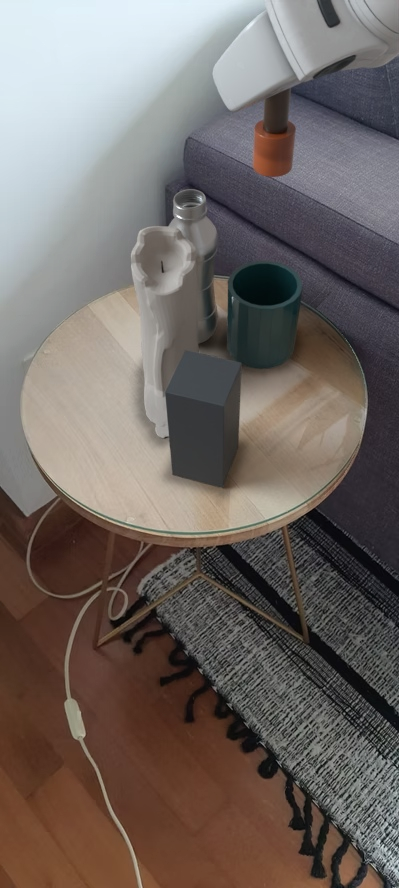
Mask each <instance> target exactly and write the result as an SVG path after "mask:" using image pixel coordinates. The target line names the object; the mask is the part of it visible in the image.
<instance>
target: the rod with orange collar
mask: <svg viewBox="0 0 399 888" xmlns="http://www.w3.org/2000/svg"><path fill="white" fill-rule="evenodd" d="M291 93H292V87H291V88H289V89H286V90H284V91H282V92H280V93H278V94H275V95H273V96H271V97H269V98H266V99H264V100H263V116H262V119H261V120H260V121H258V122H257V123H255V125H254V127H253V128H254V129H253V148H252V150H253V152H252V169H253V170H254V172H255V173H257V174H259V175H261V176H263V177H268V178H278V177H282V176H286V175H287V174H289V173H290V172H291V171H292V169H293V161H294V153H295V152H294V151H295V141H296V130H297V129H296V125H295V124H294V123H293V122H292V121H290V120H289V117H290V105H291Z"/></svg>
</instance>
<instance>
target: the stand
mask: <svg viewBox="0 0 399 888" xmlns="http://www.w3.org/2000/svg"><path fill="white" fill-rule="evenodd" d="M242 366H243V365H242V363H241V362H237V361H236V360H232V359H228V358H227V359H226V358H223V357H218V356H214V355H209V354H204V353H201V352H199V353H196V352H192V351H187V350H185V352H184V354H183V356H182V358H181V360H180V362H179V364H178V366H177V368H176V370H175V372H174V374H173V376H172V379H171V381H170V383H169V385H168V387H167V389H166V391H165V397H166V408H167V420H168V431H169V436H168V440H169V453H170V465H171V474H172V476H176V477H180V478H182V479H187V480H190V481H194V482H198V483H202V484H206V485H210V486H213V487H217V488H221V489H223V488H224V487H225V484H226V483H227V482H226V481H227V479H228V477H229V475H230V474H229V473H230V470H231V468H232V466H233V464H234V460H235V457H236V456H237V455H236V454H237V452H238V450H239V439H240V415H241V391H242V389H241V388H242V368H243V367H242Z"/></svg>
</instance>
